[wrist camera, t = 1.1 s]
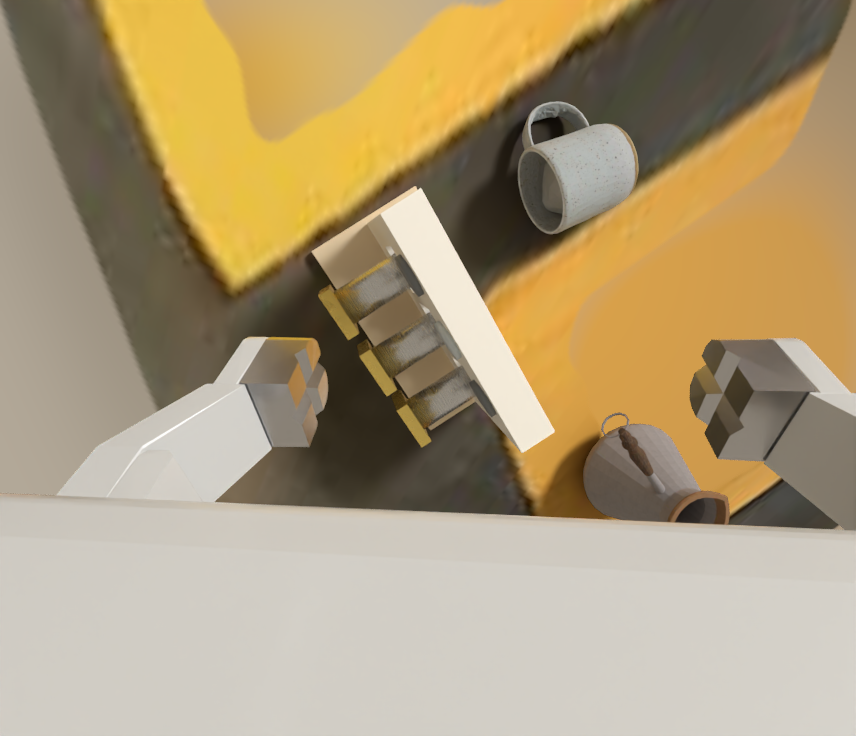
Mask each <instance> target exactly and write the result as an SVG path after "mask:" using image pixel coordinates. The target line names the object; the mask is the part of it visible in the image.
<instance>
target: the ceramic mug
mask: <svg viewBox="0 0 856 736" xmlns="http://www.w3.org/2000/svg"><path fill="white" fill-rule="evenodd" d="M557 116H560V117H563V118H565V119H566V120H568V121H569V122H570V123H571V124H572V125H573V126H574V127H575V128H576V130H577V131H576V132H573V133H570V134H567V135H564V136H561V137H558V138H555V139H552V140H549V141H546V142H542V143H539V144H536V145H534V144H533V142H532V136H531V124H532V123H533V122H534V121H537V120H541V119H545V118H549V117H554V118H555V117H557ZM522 140H523V146H524V152H523V153H522V155H521V157H520V160H519V165H518V184H519V189H520V195H521V198H522V201H523V204H524V207H525V209H526V211H527V214H528V216H529V217H530V218H531V220H532V222H533V223H534V224H535V226H536V227H537V228H539V229H540V230H541V231H543V232H545V233H547V234H556V233H559V232H561V231H563V230H565V229H567V228H569V227H572V226H574V225H576V224H579V223H581V222H583V221H585V220H587V219H589V218H591V217H593V216H595V215H597V214H600V213H602V212H604V211H607V210H609V209H611V208H613V207H615V206H616V205H618V204H619V203H621V202H622V201H624V200H625V199H626V198H627V197H628V196H629V195H630V194H631V192H632V191H633V189H634V187H635V184H636V181H637V176H638V158H637V153H636V150H635V147H634V144H633V142H632V141H631V139H630V137H629V136H628V135H627V133H626V132H625V131H624V130H622V129H621V128H620V127H618V126H616V125H613V124H598V125H593V126H589V124H588V122H587V120H586V118H585V117H584V116H583V114H582V113H581V112H580V111H579V110H578V109H577V108H576V107H574V106H572V105H570V104H567V103H564V102H548V103H545V104H542V105H540V106H538V107H536V108H535V109H534V110H533V111H532V112H531V113H530V114H529V117H528V119H527V121H526V123H525V126H524V129H523V134H522Z"/></svg>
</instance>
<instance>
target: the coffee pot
mask: <svg viewBox="0 0 856 736" xmlns="http://www.w3.org/2000/svg"><path fill="white" fill-rule="evenodd" d="M615 415H623V416H625V417H626V418H627V416H626V415H625V414H622V413H615V414H612V415H610V416H608V417H607V418H606V419H605V420H604V422H603V424H602V429H601V430H602V432H603V434H604V436H603V437H602V438H601V439H599V441H598V442H597V443H596V444H595V445H594V447H593V448H592V449H591V451H590V453H589V455H588V457H587V459H586V462H585V466H584V470H583V483H584V488H585V491H586V494H587V497H588V499H589V500H590V502H591V503H592V505H593V506H594V507H595V508H596V509H597V510H599V511H600V512H601V513H603V514H604V515H607V516H610V517H613V518H617V519H620V520H630V521H652V522H675V523H697V524H720V525H728V522H729V514H730V512H729V503H728V498H727V496H725V495H722V494H720V493H716V492H712V491H701V490H700V488H699V486H698V484H697V483H696V481H695V479H694V477H693V476H692V474H691V472H690V471H689V469H688V467H687V465H686V464H685V462H684V460H683V458H682V457H681V455H680V453H679V451H678V450H677V448H676V446H675V444H674V443H673V441H672V439H671V438H670V437H669V436H668V435H667V434H666V433H664V432H663V431H662V430H661V429H658V428H656V427H654V426H651V425H645V424H630V425H629V419H628V418H627V425H626V426H620V427H618V428H616V429H614V430H612V431H610V432H608V433H607V434H605V433H604V431H603V428H604V424H605V423H606V421H607V419H609V418H611V417H612V416H615Z"/></svg>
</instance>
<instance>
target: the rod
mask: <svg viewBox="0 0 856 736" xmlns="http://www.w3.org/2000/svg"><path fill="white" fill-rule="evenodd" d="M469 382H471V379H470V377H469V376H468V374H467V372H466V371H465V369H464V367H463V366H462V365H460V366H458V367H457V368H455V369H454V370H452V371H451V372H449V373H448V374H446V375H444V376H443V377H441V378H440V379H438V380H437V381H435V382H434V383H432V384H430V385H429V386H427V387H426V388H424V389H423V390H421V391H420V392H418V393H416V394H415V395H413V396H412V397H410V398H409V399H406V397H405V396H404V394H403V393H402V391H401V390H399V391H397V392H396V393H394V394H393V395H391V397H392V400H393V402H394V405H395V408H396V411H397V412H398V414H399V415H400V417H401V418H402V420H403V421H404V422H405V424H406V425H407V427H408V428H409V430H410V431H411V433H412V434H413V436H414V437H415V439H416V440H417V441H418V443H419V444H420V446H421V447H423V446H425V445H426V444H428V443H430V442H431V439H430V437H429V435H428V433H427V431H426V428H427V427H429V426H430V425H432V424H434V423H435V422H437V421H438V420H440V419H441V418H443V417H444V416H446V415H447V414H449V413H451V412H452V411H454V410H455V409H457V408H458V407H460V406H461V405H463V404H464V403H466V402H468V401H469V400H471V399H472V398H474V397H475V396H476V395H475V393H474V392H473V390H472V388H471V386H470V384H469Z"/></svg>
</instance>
